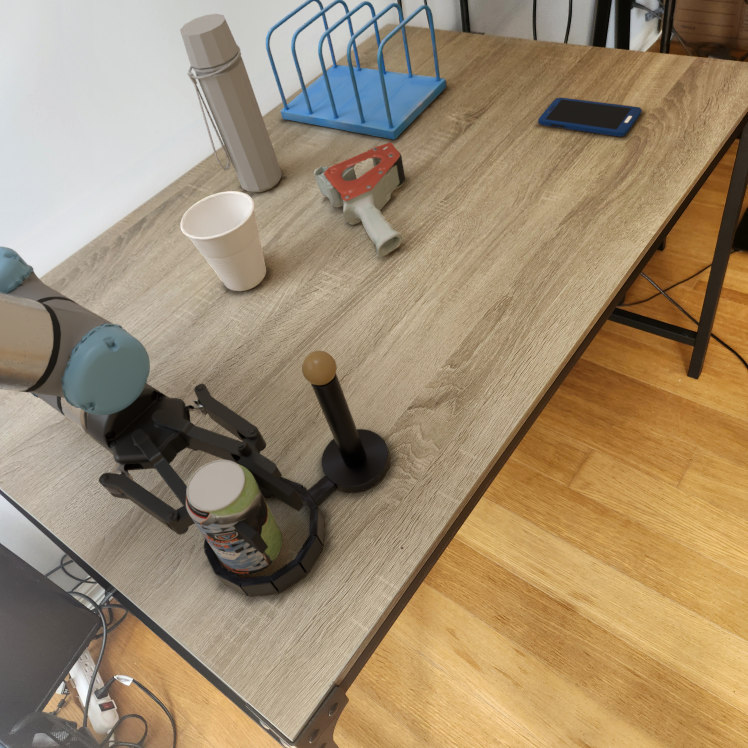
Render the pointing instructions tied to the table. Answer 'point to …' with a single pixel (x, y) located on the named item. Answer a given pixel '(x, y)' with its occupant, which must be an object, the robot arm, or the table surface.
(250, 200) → the cup
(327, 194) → the tape dispenser
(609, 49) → the table surface
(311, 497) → the can holder
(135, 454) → the robot arm
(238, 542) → the beverage can
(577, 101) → the cell phone
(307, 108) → the file sorter
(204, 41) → the water bottle
